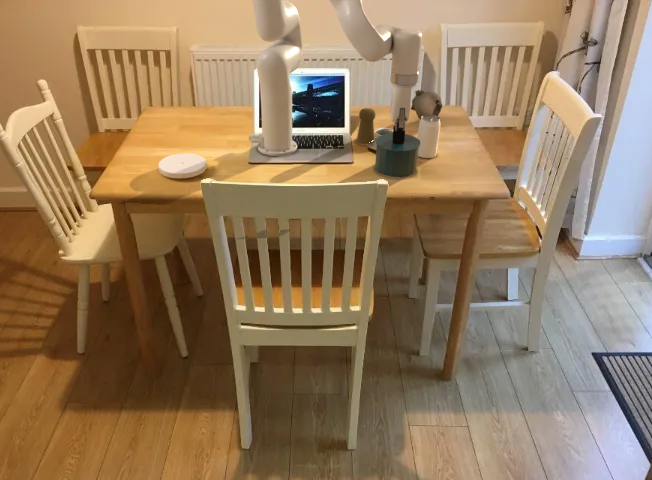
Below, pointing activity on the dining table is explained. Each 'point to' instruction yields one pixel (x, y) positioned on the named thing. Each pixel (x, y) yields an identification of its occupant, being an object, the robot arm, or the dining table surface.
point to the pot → (395, 162)
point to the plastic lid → (182, 165)
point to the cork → (366, 126)
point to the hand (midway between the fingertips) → (398, 140)
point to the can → (428, 136)
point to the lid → (387, 144)
